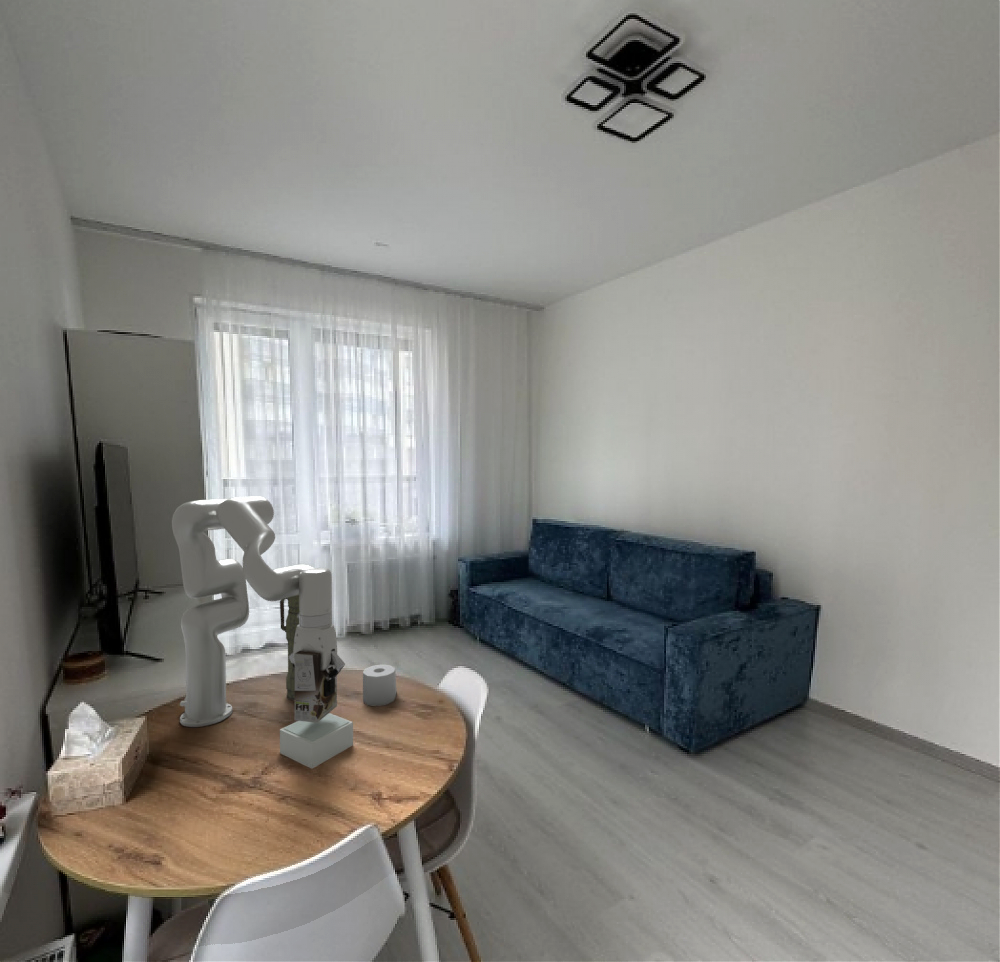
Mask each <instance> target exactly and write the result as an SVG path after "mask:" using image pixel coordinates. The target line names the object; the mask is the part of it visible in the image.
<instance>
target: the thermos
mask: <svg viewBox="0 0 1000 962" xmlns="http://www.w3.org/2000/svg"><path fill="white" fill-rule="evenodd" d="M285 600H287V607H288V610H287V615H286V620H285ZM279 613H280V629H281V630H282V631H283V632H284V633H285V639H286V641H287V673H286V678H285V681H286V682H285V683H286V685H285V686H286V687H285V689H286V698H287V699H288V700H291V701H295V669H294V667H293V663H292V662H291V661H290V659H289V656H290V655H291V654H292V653H293V649H294V638H295V632H296V628H297V625H299V618H298V617H297V615H298V613H299V595H297V596H292V597H289V598H285V599H282V600H279Z"/></svg>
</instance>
